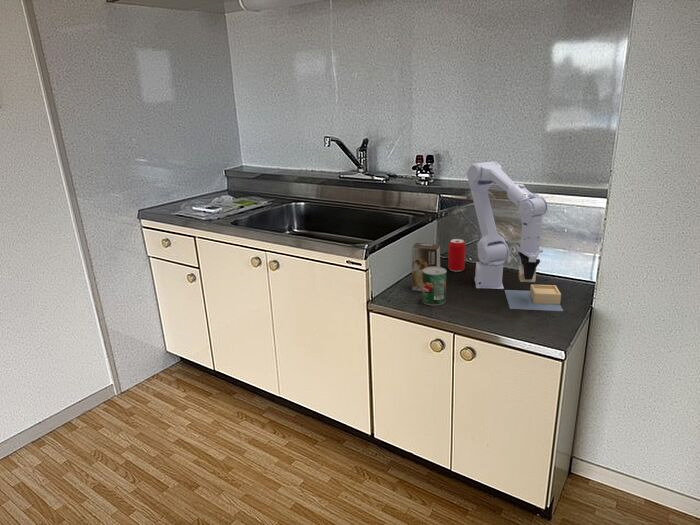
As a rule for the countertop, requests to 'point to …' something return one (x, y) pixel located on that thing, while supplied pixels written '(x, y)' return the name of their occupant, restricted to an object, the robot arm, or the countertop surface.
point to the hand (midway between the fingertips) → (527, 276)
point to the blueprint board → (527, 301)
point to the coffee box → (423, 261)
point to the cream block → (521, 275)
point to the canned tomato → (434, 286)
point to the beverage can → (456, 255)
